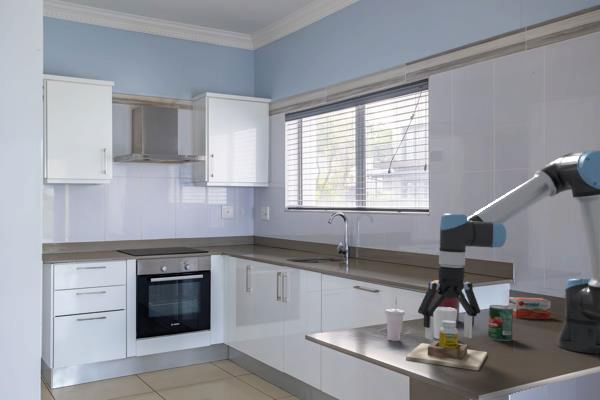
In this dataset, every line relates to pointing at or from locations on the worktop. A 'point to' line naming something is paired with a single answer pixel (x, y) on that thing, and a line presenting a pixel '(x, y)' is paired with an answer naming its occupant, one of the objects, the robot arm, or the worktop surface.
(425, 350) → the socket board
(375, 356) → the worktop surface
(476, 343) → the worktop surface
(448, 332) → the supplement bottle
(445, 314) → the white cup
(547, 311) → the medicine box
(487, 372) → the worktop surface
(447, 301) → the canister
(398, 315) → the smoothie
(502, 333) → the canned tomato
